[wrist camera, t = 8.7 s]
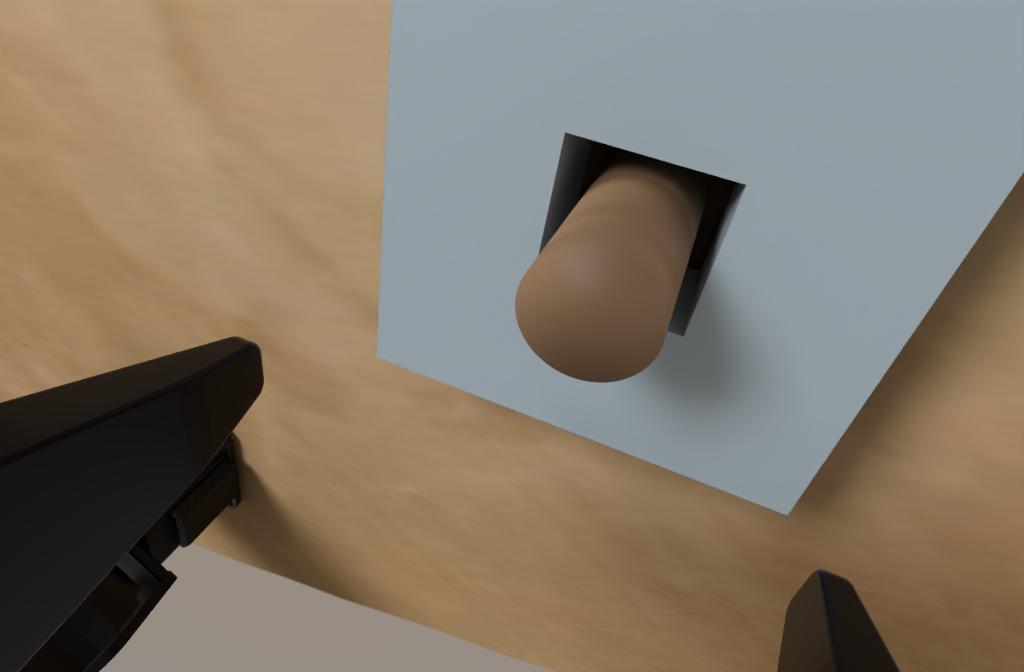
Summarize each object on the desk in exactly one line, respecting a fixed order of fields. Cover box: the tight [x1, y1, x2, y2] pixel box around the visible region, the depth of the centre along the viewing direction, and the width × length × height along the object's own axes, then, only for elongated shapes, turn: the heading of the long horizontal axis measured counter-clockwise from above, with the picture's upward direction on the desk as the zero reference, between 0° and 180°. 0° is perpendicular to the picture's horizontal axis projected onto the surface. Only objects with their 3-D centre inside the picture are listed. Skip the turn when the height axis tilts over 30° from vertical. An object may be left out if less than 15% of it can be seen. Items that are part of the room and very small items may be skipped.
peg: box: [515, 148, 709, 383], centre depth 16 cm, size 3×3×8 cm
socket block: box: [377, 0, 1024, 515], centre depth 18 cm, size 14×14×4 cm
